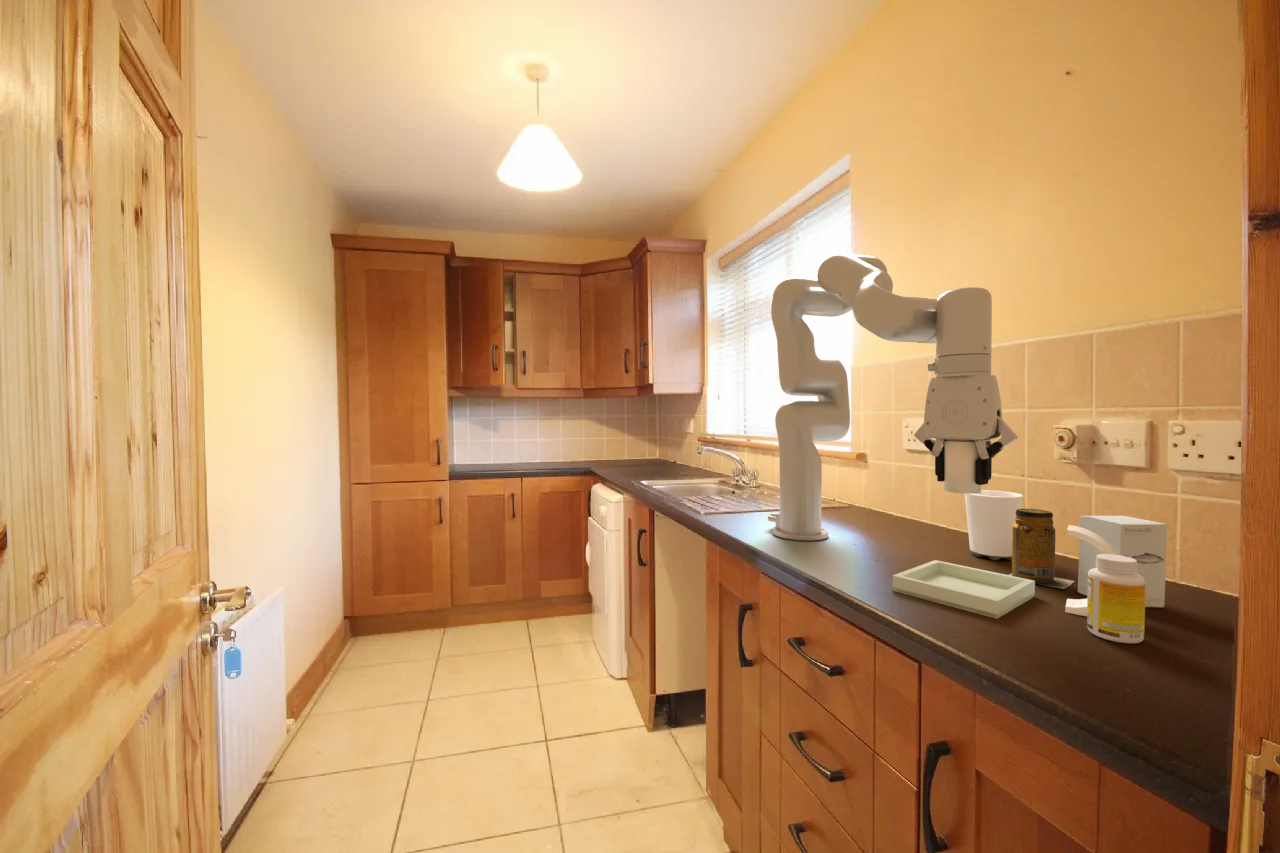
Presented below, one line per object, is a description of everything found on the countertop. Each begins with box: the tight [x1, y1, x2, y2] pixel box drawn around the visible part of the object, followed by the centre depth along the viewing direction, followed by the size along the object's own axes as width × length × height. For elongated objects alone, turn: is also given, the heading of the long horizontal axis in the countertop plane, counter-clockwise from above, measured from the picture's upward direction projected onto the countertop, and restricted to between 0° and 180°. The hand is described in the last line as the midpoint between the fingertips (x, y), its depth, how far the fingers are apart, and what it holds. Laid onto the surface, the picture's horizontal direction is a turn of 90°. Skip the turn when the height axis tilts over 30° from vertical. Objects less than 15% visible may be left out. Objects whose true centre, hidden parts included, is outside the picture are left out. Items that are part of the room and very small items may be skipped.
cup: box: [964, 489, 1024, 561], centre depth 108 cm, size 10×10×13 cm
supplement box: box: [1077, 515, 1168, 608], centre depth 83 cm, size 7×7×13 cm
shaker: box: [943, 439, 982, 495], centre depth 86 cm, size 5×5×9 cm
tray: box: [891, 559, 1036, 620], centre depth 86 cm, size 15×15×2 cm
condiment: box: [1008, 508, 1076, 590], centre depth 93 cm, size 7×8×12 cm
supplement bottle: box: [1086, 554, 1146, 644], centre depth 69 cm, size 6×6×10 cm
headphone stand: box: [1064, 524, 1117, 617], centre depth 77 cm, size 5×6×12 cm
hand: (962, 481), depth 86 cm, fingers closed on shaker, 5 cm apart
